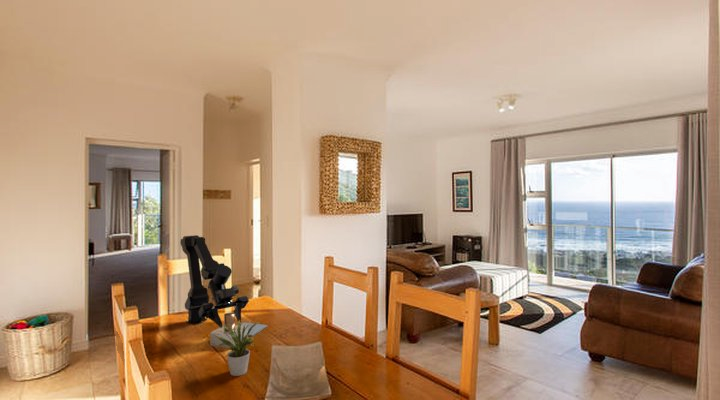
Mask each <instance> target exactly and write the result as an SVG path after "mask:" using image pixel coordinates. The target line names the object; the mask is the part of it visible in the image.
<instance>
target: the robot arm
mask: <svg viewBox="0 0 720 400" xmlns="http://www.w3.org/2000/svg"><path fill="white" fill-rule="evenodd" d="M180 246H181V249H182V252H183V253H184V254H185V255H186V257H187V266H188V273H189V282H190V288H189V290H188V293H187V299H185V302H184V308H185V310H186V311H188V317H187V319H188V320H186V321H185V323H186V324H193V325H199V324H201V323H203V322H205V321H207V319H209V320H211V321H213V322H214V324H216V325H217V326H218V328H222V327H223V326H224V325H223V322H222V319H221V317H220V315H219V311H218V310H222V309H223V310H224V309H227V308H232V307H233V308H234V309H233V312H232V313H235V319H236V320H237V322H239V320H240V322H241V323H242V309H245V308H246V306H247V305H248V303H249V302H250V300H249V297H248V296H247V295H242V296H237V298H236V300H234V301H232V300H233V299H234V297H235V296H236V295H237V294H239V292H240V290H239V287H238V285H232V286H231V287H229V288H226V285H225V284H226V283H228V280H229V279H230V277H231V275H232V272H233V270H232V268H230V267H229V266H228V265H225V263H223V262H222V263H219V262H218V261H217V260H215V259H214V258H213V256H212V254H211V252H210V249H209V247H208V245H207V243H206V238H205V237H204V236H199V235H196V234H195V235H184V236H183V237H182V238H180ZM200 264H201V265H200ZM201 266H202V267H201ZM202 279H203V280H205V281H208V280H209V282H208V286H207V287H205V286H204V285H203V282H202V281H203V280H202ZM208 290H210V294H211V296H212V298H211V301H213V302H214V303H213V302H209V301H210V295H209V294H208ZM220 325H221V326H220Z"/></svg>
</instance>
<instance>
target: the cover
mask: <svg viewBox="0 0 720 400" xmlns="http://www.w3.org/2000/svg"><path fill="white" fill-rule="evenodd" d="M223 324H224V325H223V326H225V327H228V328H230V329H231V330H232V331H233V329H234V331H235V332H236V334H237V336H238V333H237V328H238V324H236V316H235V313H234V312H226V313H224V316H223ZM229 326H230V327H229ZM225 327H222V328H220V327H218V328H216V329H214V330H212V331H211V332H209V337H210V338H209V340H210V341H209V343H210V345H209V346H211V347H217V348H224V349H225V348H226V349H231V348H230V347H229V346H227V345H220V344H221V343H224V342H222V341H221V340H219V339H218V338H216V337H215V336H219V337H222V338H224V339H226V340H228V341H230V342H231V343H232V344H233V345H234V346H235V342H234V340H233V339H232V336H233V335H232V336H231V334H230V332H229V331H228V330H227V328H225ZM246 327H247V326H245V328H246ZM224 328H225V329H224ZM232 328H233V329H232ZM218 331H221V332H218ZM234 331H233V332H234ZM242 331H243V326H241V339H242ZM222 332H223V333H222ZM247 332H248V327H247V328H246V330H245V332H244V336H245V335H246V334H247ZM224 333H225V334H227V335H228V336H229V337H230V338H231V339H230V338H229V337H228V336H227V335H225V334H224ZM234 334H235V333H234ZM235 336H236V335H235ZM247 338H249V336H248V337H247ZM246 340H247V339H246ZM232 341H233V342H234V343H233V342H232ZM218 345H220V346H218Z"/></svg>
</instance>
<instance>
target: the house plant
mask: <svg viewBox="0 0 720 400" xmlns="http://www.w3.org/2000/svg"><path fill="white" fill-rule="evenodd" d="M237 322H238V321H237ZM241 324H242V321H241V322H240V320H239V322H238V323H237V325H238V328H237V333H238V336H237V334H236V332H235V331H234V329H233V328H232V329H233V331H234V332H233V331H232V330H231V329H230V328H228V327H225V326H224V325H223V327H225V328H227V330H228V331H229V332H230V334H231V336H232V335H233V336H232V339H233V340H234V342H235V346H234V345H233V344H232V343H231V342H230V341H228V340H226V339H224V338H222V337H219V336H215V337H216V338H218V339H219V340H221V341H222V342H224V343H221V344H220V345H227V346H229V347H230V348H229V349H231V350H230V351H229V352H228V353H227V354H226V355H227V356H226V357H227V363H228V368H229V374H230V375H231V376H234V377H238V376H242V375H245V374H247V371H248V368H249V367H248V366H249V361H250V354H251V351H250V350H249V349H248V347H249V346H250V345H251V346H252V347H254V343H255V341H253V340H255V338H254V337H251V336H250V335H251V334H252V333H251V334H250V335H249V333H250V331H251V330H252V328H253V327H254V326H255V325H256V324H260V321H258V322H255V323H252V324H254V325H252V324H250V325H252V326H251V327H250V329H249V330H248V332H247V334H246V335H245V336H244V332H245V330H246V328H247V327H248V326H249V325H248V326H247V327H246V328H245V325H244V326H243V331H242V339H241ZM220 326H221V325H220ZM229 327H230V326H229ZM225 328H224V329H225ZM218 332H221V331H218ZM222 333H223V332H222ZM234 333H235V334H234ZM224 334H225V333H224ZM225 335H227V334H225ZM235 335H236V336H235ZM248 335H249V336H248ZM227 336H228V335H227ZM228 337H229V336H228ZM247 337H248V338H247ZM229 338H230V337H229ZM230 339H231V338H230ZM246 339H247V340H246ZM232 342H233V341H232ZM234 342H233V343H234ZM220 345H218V346H220Z"/></svg>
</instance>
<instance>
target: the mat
mask: <svg viewBox="0 0 720 400" xmlns="http://www.w3.org/2000/svg"><path fill="white" fill-rule="evenodd" d="M250 324H252V325H254V324H255V323H250V322H241V326H244V325H245V326H248V325H249V326H248V330H249V329H250V327H251V326H252V325H250ZM267 327H269V326H268V325H267V324H261V323H257V324H256V325H255V326H254V327H253V328H252V330H251V331H250V333H249V335H250V334H251V333H252V334H251V335H250V336H249V335H248V337H253V336H255V335H257V334H258V333H259V332H261V331H262V330H265V329H266V328H267Z"/></svg>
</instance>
